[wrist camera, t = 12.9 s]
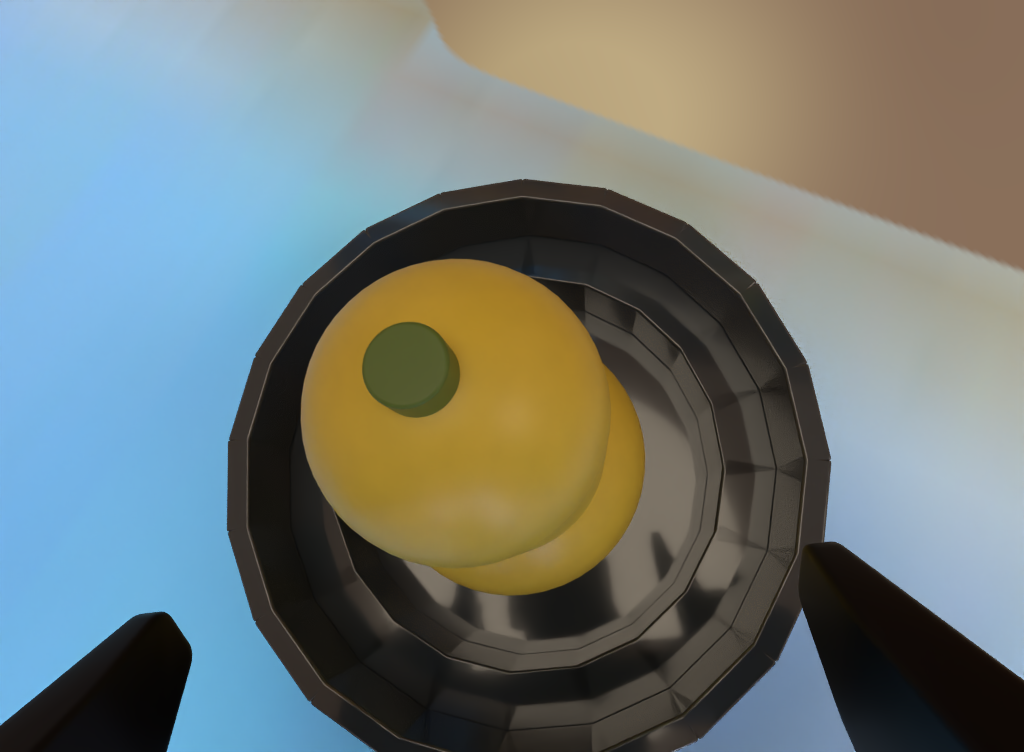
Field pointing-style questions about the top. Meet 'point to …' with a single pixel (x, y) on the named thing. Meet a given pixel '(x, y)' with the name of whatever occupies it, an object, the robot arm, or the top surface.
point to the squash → (472, 428)
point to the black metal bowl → (631, 563)
